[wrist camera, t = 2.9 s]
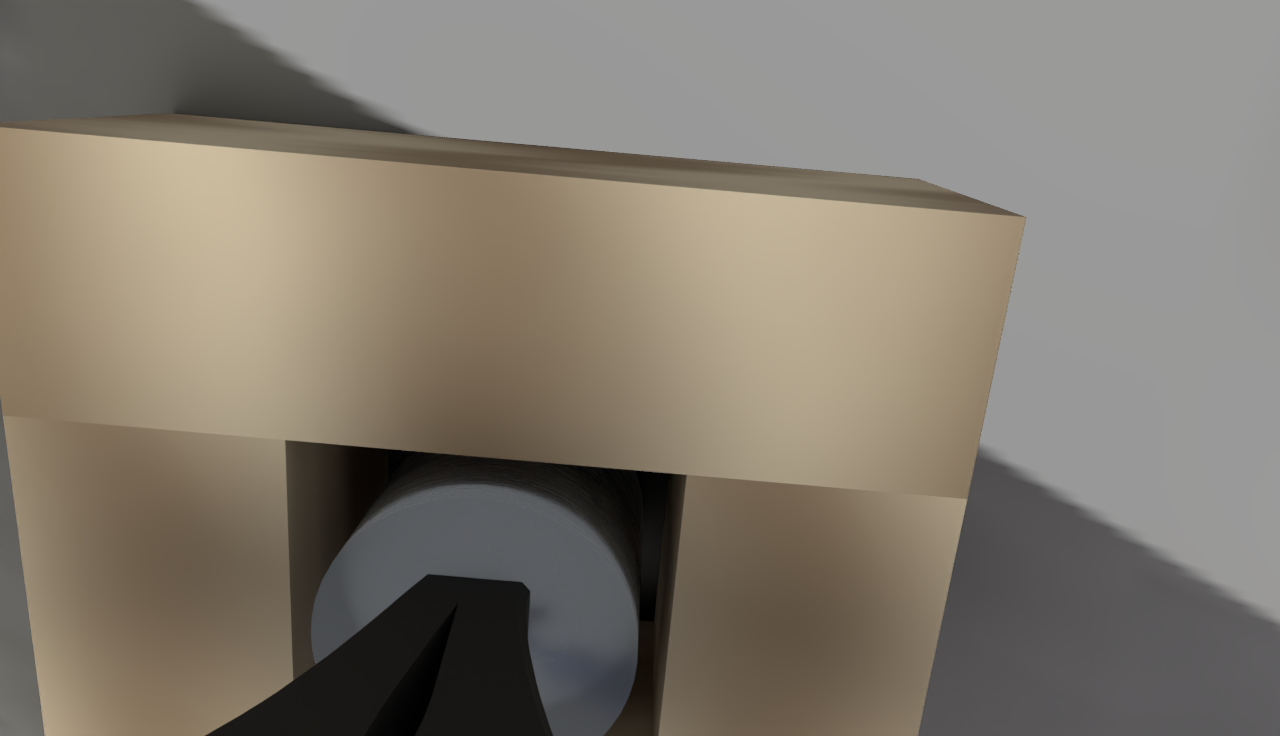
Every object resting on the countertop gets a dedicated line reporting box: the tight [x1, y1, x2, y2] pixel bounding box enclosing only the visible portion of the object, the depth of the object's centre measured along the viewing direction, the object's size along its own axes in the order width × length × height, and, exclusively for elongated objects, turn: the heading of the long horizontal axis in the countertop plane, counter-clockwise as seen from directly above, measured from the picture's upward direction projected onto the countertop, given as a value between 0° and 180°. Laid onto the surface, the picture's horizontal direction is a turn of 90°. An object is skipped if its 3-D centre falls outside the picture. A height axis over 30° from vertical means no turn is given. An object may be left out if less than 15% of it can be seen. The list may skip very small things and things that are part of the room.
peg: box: [311, 451, 643, 736], centre depth 14 cm, size 4×4×4 cm
